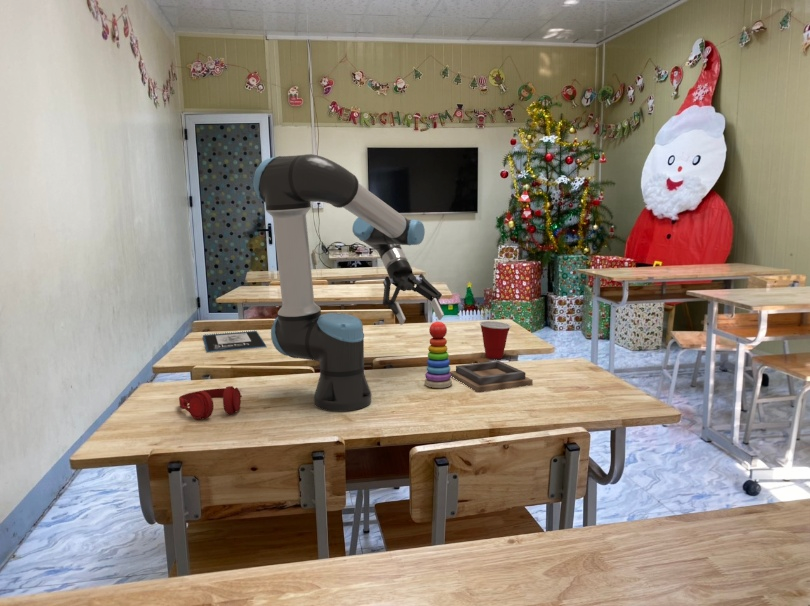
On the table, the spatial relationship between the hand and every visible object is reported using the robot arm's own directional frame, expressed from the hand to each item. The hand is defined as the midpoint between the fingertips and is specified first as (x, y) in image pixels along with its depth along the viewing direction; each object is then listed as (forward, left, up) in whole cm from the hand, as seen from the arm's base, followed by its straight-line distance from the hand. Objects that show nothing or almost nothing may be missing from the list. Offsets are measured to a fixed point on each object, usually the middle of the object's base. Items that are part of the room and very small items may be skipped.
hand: (422, 319), depth 178 cm
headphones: (-62, -4, -18) cm, 65 cm away
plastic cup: (+33, +12, -18) cm, 39 cm away
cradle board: (+17, -12, -18) cm, 27 cm away
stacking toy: (+1, -10, -18) cm, 20 cm away
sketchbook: (-48, +76, -19) cm, 92 cm away
